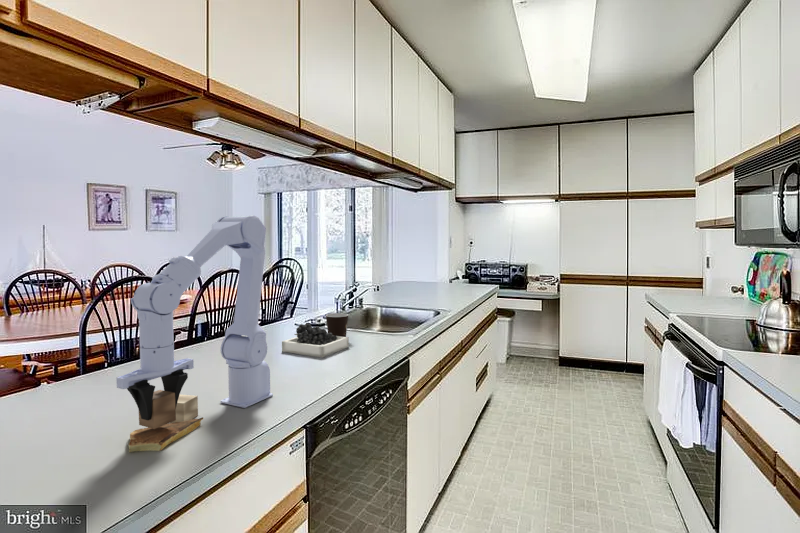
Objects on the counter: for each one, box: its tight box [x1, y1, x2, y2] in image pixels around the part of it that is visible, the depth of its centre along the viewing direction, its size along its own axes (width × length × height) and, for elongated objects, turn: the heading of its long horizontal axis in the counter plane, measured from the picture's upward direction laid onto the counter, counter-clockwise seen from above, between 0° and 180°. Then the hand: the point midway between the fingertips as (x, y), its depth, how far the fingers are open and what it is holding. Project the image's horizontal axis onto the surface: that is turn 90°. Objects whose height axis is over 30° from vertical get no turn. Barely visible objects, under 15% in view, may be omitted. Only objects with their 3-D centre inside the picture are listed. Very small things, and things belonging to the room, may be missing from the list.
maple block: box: [170, 393, 199, 423], centre depth 94 cm, size 4×4×4 cm
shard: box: [128, 417, 204, 453], centre depth 84 cm, size 13×9×2 cm
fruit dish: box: [281, 335, 350, 358], centre depth 154 cm, size 16×17×4 cm
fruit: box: [294, 323, 337, 345], centre depth 154 cm, size 9×8×15 cm
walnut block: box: [138, 389, 176, 429], centre depth 85 cm, size 4×4×6 cm
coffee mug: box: [325, 312, 349, 337], centre depth 169 cm, size 12×9×10 cm
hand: (158, 414), depth 85 cm, fingers closed on walnut block, 4 cm apart
